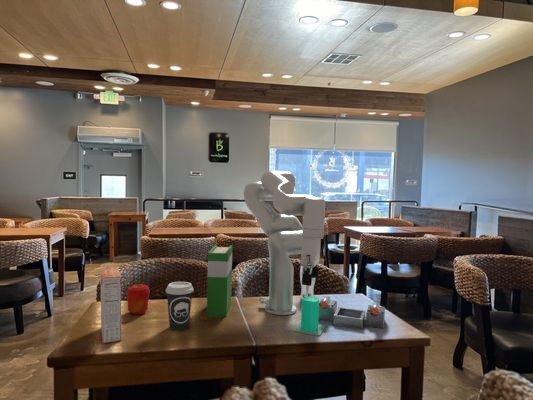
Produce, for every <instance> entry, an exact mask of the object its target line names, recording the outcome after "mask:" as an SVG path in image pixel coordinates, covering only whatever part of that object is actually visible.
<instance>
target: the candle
mask: <svg viewBox="0 0 533 400" xmlns="http://www.w3.org/2000/svg"><path fill="white" fill-rule="evenodd" d="M319 302H320V299H319V297H316V296H314V297H311V294H310V297H303V298H302V299H301V311H300V312H301V315H300V317H301V318H300V322H301V328H302V329H303V330H305V331H316V330H318V325H319V319H318V318H319Z"/></svg>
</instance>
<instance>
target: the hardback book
mask: <svg viewBox="0 0 533 400" xmlns="http://www.w3.org/2000/svg"><path fill="white" fill-rule="evenodd" d="M232 267H233V245H229V246H226V247H225V246H218V245H217V244H214V245H213V246H212V247H211V249H210V250H209V251H208V252H207V278H206V279H207V283H206V284H207V285H206V288H207V289H206V292H207V293H206V317H219V318H221V317H224V318H227V316H228V314H229V310H230V306H231V303H232V284H233V283H232V281H233V280H232V279H233V268H232Z"/></svg>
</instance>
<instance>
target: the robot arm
mask: <svg viewBox="0 0 533 400" xmlns="http://www.w3.org/2000/svg"><path fill="white" fill-rule="evenodd" d="M295 186H296V178H295V175H294V174H293V173H292V172H290V171H287V170H286V171H284V170H281V171H280V170H269V171H266V172H265V173H263V174H262V176H261V177H260V181H252V182H249V183H248V184H246V185H245V186H244V189H243V199H244V202H245V204H246V207H247V209H248V210H249V211H250V212H251V214H252V215H253V216H254V217H255V219H256V221H257V223H258V224H259V226H260V228H261V230H262V231H263V233H264V235H266V236H267V237H268V238H267V247H268V254H269V256H268V257H269V284H268V285H269V286H268V287H269V289H268V297H263V296H260V297H259V299H258V300H259V302H260V304H265V306H264V310H265V312H266V313H268V314H271V315H275V316H288V315H293V314H295V313H296V312H297V307H296V306H295V305H294V304H293V301H294V265H293V262H292V260H291V259H290V257H289V256H294V255H295V256H296V255H301V256H300V267H301V266H304V268H303V273H302V285H307V286H311V284H312V278H316V279H318V277H319V276H318V275H319V262H320V258H321V242H322V241H321V240H323V239H324V237H325V235H324V234H325V219H326V200H325V199H324V198H322V197H316V196H314V195H312V194H311V195H310V194H294V190H295ZM266 201H267V202H272V205H273V206H272V205H270V204H269V203H267V202H266ZM273 207H274V208H273ZM275 209H276V210H277V211H278V212H279V213H277V212H276V211H275ZM297 216H302V222H301V221H300V220H299V219H298V217H297Z"/></svg>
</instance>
